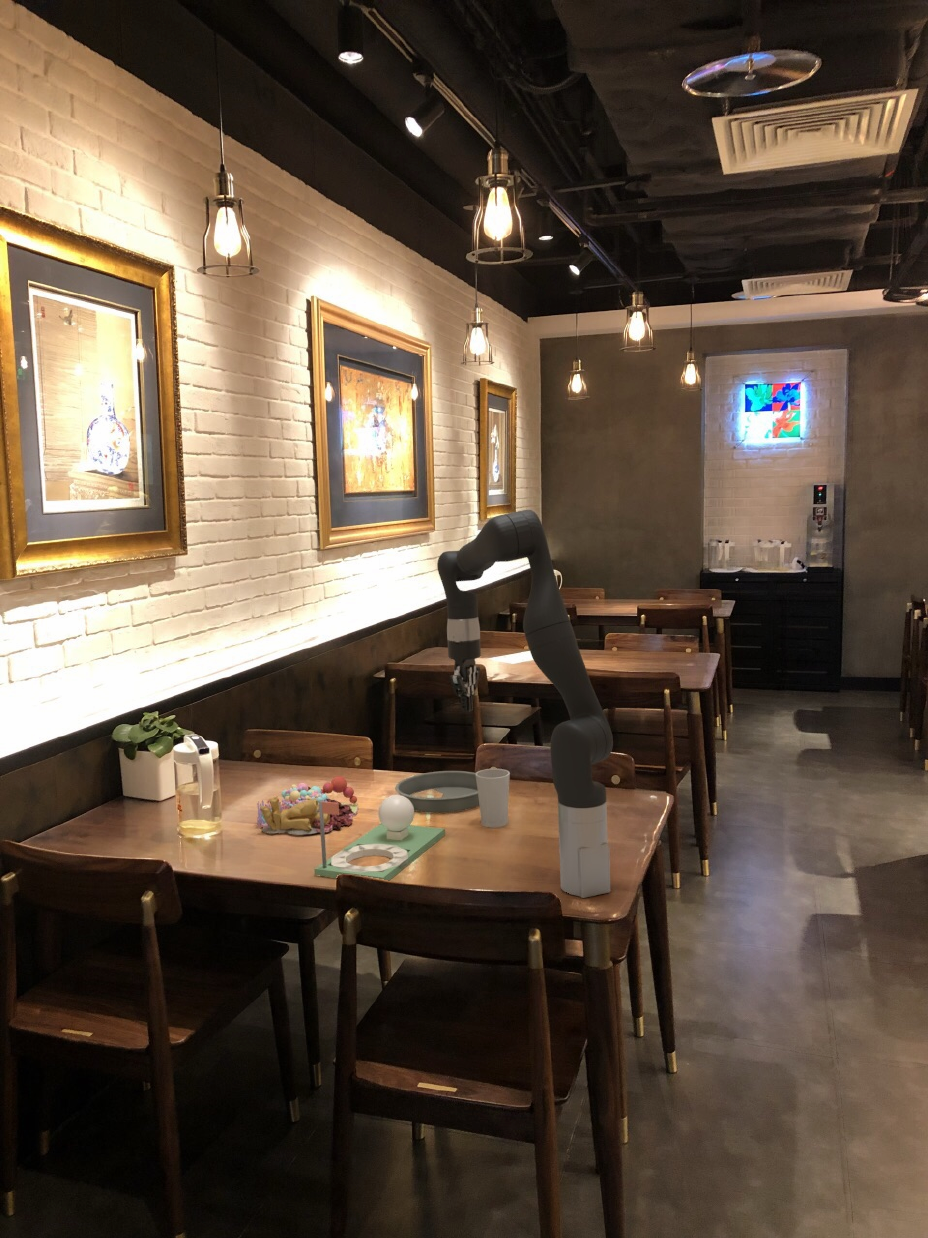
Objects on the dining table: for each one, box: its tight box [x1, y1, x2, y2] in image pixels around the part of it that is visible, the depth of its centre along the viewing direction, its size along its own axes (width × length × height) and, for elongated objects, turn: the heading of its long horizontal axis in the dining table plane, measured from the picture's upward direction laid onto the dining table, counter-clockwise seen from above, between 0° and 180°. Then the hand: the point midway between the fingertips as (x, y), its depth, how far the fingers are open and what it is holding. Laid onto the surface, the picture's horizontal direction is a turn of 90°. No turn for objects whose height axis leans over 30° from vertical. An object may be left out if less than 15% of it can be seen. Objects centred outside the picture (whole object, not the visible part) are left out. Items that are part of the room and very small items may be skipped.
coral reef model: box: [256, 775, 359, 836], centre depth 230 cm, size 25×24×9 cm
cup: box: [475, 768, 511, 829], centre depth 222 cm, size 8×8×12 cm
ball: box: [377, 794, 415, 831], centre depth 211 cm, size 8×8×8 cm
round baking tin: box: [394, 770, 480, 814], centre depth 242 cm, size 25×25×4 cm
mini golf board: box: [313, 801, 446, 881], centre depth 204 cm, size 30×16×16 cm, turn 157°
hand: (466, 711), depth 219 cm, fingers closed
